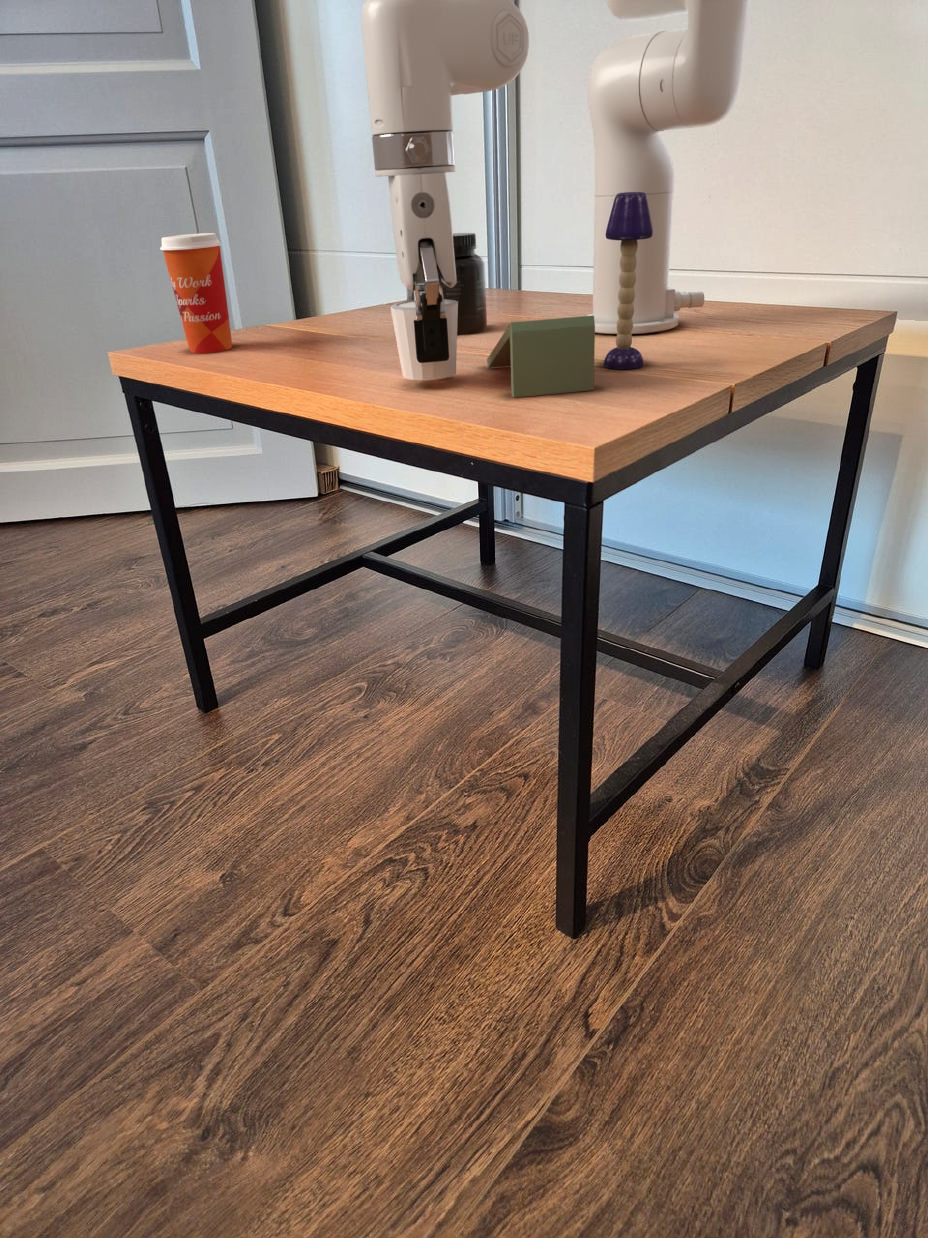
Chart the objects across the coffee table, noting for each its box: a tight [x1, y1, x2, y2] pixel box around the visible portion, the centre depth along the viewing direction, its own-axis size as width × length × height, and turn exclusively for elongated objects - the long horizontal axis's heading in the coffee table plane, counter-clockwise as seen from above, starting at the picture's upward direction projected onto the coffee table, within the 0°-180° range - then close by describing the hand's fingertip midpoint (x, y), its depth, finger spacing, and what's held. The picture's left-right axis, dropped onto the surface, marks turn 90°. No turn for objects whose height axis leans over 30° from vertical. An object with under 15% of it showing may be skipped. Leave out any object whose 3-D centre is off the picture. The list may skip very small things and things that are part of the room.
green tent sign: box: [486, 315, 596, 399], centre depth 85 cm, size 14×8×7 cm, turn 9°
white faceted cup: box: [390, 299, 458, 381], centre depth 85 cm, size 7×7×7 cm
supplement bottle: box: [442, 232, 488, 335], centre depth 112 cm, size 7×7×12 cm
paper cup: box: [159, 232, 233, 354], centre depth 109 cm, size 8×8×14 cm
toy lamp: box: [603, 192, 653, 370], centre depth 86 cm, size 5×5×17 cm
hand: (428, 352), depth 86 cm, fingers closed on white faceted cup, 6 cm apart
